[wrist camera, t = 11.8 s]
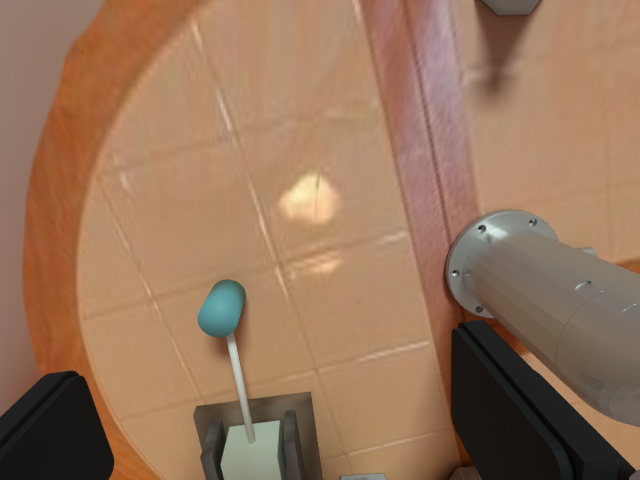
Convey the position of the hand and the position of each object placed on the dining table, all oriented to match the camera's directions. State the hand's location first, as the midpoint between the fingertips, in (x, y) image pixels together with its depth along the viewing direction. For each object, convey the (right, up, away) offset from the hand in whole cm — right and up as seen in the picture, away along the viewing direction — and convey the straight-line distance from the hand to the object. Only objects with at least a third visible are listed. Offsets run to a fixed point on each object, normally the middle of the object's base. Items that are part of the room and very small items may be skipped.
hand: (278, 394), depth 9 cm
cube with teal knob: (-7, -12, +31) cm, 34 cm away
